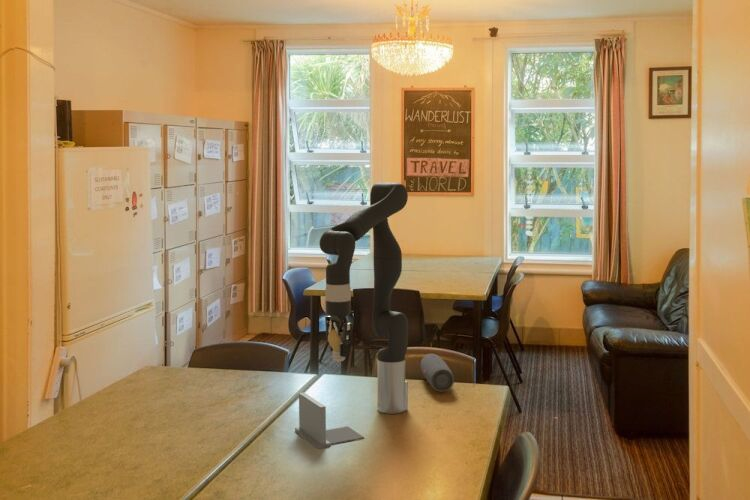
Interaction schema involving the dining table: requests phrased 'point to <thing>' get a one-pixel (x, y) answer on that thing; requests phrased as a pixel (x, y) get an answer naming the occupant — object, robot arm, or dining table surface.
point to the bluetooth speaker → (437, 372)
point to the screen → (312, 421)
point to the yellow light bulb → (335, 345)
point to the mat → (342, 435)
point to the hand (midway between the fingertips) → (338, 353)
